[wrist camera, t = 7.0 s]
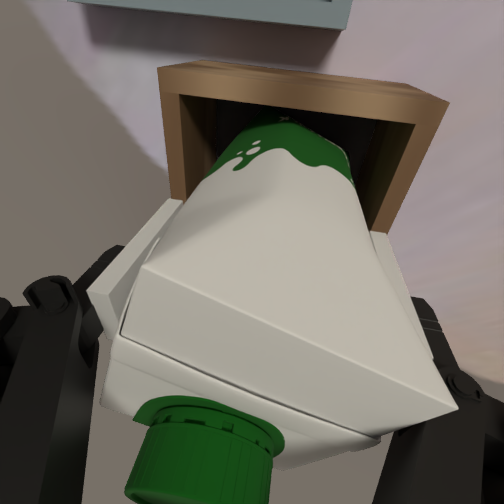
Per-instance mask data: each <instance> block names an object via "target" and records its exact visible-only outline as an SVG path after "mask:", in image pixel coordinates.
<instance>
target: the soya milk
mask: <svg viewBox="0 0 504 504" xmlns="http://www.w3.org/2000/svg"><path fill="white" fill-rule="evenodd" d="M110 356H111V358H110V362H109V365H108V369H107V373H106V378H105V381H104V386H103V390H102V394H101V398H100V405H101V406H102V407H105V408H107V409H110V410H113V411H117V412H120V413H124V414H127V415H131V416H133V417H134V418H133V421H135V422H138V423H141V424H144V425H147V426H150V428H149V429H148V430H147V433H146V436H145V439H144V441H143V444H142V446H141V449H140V451H139V454H138V456H137V459H136V461H135V464H134V467H133V469H132V471H131V474H130V476H129V479H128V481H127V484H126V486H125V491H124V493H125V495H126V496H127V497H128V498H129V499H130V500H132V501H134V502H136V503H137V504H268V503H269V493H270V483H271V472H272V468H276V469H279V470H283V471H284V470H288V469H292V468H295V467H299V466H302V465H305V464H308V463H312V462H315V461H318V460H322V459H324V458H328V457H331V456H335V455H338V454H341V453H344V452H347V451H352V452H353V451H354V452H355V451H360V450H364V449H367V448H370V447H373V446H375V445H377V444H379V443H380V442H381V436H382V435H385V434H388V433H391V432H394V431H397V430H400V429H403V428H406V427H408V426H411V425H414V424H417V423H420V422H423V421H426V420H429V419H432V418H435V417H438V416H441V415H444V414H447V413H449V412H452V411H455V410H458V409H459V408H458V406H457V404H456V403H455V401H454V399H453V397H452V395H451V394H450V392H449V390H448V388H447V386H446V385H445V383H444V381H443V379H442V377H441V375H440V373H439V372H438V370H437V368H436V366H435V364H434V362H433V360H432V359H431V357H430V355H429V353H428V351H427V349H426V348H425V346H424V344H423V342H422V340H421V338H420V336H419V335H418V333H417V331H416V329H415V327H414V325H413V323H412V322H411V320H410V318H409V316H408V314H407V312H406V310H405V308H404V306H403V305H402V303H401V301H400V299H399V297H398V295H397V293H396V291H395V289H394V287H393V285H392V284H391V282H390V280H389V278H388V276H387V274H386V272H385V270H384V268H383V266H382V264H381V262H380V260H379V258H378V256H377V254H376V252H375V250H374V247H373V244H372V241H371V238H370V235H369V231H368V228H367V225H366V222H365V218H364V215H363V212H362V209H361V205H360V202H359V199H358V196H357V192H356V189H355V186H354V182H353V179H352V176H351V172H350V156H349V152H348V151H346V150H344V149H343V148H341V147H339V146H338V145H336V144H334V143H333V142H331V141H329V140H328V139H326V138H324V137H323V136H321V135H319V134H318V133H316V132H314V131H313V130H311V129H309V128H308V127H306V126H304V125H303V124H301V123H299V122H297V121H296V120H294V119H292V118H291V117H289V116H287V115H286V114H284V113H282V112H281V111H279V110H277V109H276V108H274V107H272V106H270V105H265V106H264V107H263V108H262V109H261V110H260V111H259V112H258V113H257V115H256V116H255V117H254V118H253V119H252V120H251V121H250V122H249V123H248V124H247V126H246V127H245V128H244V129H243V130H242V131H241V132H240V133H239V134H238V135H237V137H236V138H235V139H234V140H233V141H232V142H231V144H230V145H229V146H228V147H227V148H226V149H225V151H224V152H223V153H222V154H221V156H220V157H219V158H218V160H217V161H216V162H215V164H214V165H213V166H212V168H211V169H210V170H209V172H208V173H207V174H206V176H205V177H204V178H203V180H202V181H201V182H200V184H199V185H198V186H197V188H196V189H195V190H194V192H193V193H192V194H191V196H190V197H189V198H188V200H187V201H186V202H185V204H184V205H183V206H182V208H181V209H180V211H179V212H178V214H177V215H176V217H175V218H174V220H173V221H172V223H171V224H170V226H169V228H168V229H167V231H166V233H165V234H164V236H163V237H162V239H161V240H160V238H158V239H157V240H156V242H155V243H154V245H153V246H152V248H151V250H150V252H149V253H148V255H147V257H146V259H145V261H144V263H143V265H141V267H140V270H139V273H138V275H137V277H136V279H135V282H134V284H133V286H132V289H131V291H130V293H129V295H128V298H127V300H126V303H125V306H124V308H123V311H122V314H121V316H120V319H119V322H118V326H117V329H116V332H115V336H114V339H113V343H112V346H111V351H110Z"/></svg>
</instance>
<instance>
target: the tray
mask: <svg viewBox="0 0 504 504" xmlns="http://www.w3.org/2000/svg"><path fill="white" fill-rule="evenodd" d="M67 1H70V2H76V3H82V4H88V5H94V6H103V7H113V8H123V9H133V10H142V11H152V12H162V13H172V14H181V15H191V16H201V17H210V18H220V19H230V20H240V21H249V22H259V23H269V24H279V25H288V26H298V27H308V28H318V29H327V30H337V31H343V30H346V26H347V22H348V18H349V13H350V9H351V5H352V0H67Z"/></svg>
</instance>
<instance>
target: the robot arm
mask: <svg viewBox="0 0 504 504" xmlns="http://www.w3.org/2000/svg"><path fill="white" fill-rule="evenodd" d="M182 206H183V201H182V200H175V199H168V200H167V201H166V202H165V203H164V204H163V205H162V206H161V208H160V209H159V210H158V211H157V212H156V213H155V214H154V215H153V217H152V218H151V219H150V220H149V221H148V222H147V223H146V224H145V226H144V227H143V228H142V229H141V230H140V231H139V232H138V233H137V235H135V237H134V238H133V239H132V240H131V241H130V242H129V243H128V245H126V246H120V245H116V246H114V247H112V248H110V249H109V250H107V251H105V252H104V253H103V254H102V255H101V256H100V258H99V259H98V261H96V262H95V263H94V264H93V265H92V266H91V268H89V269H88V270H87V271H86V272H85V273H84V274H83V275H82V276H81V277H80V278H79V279H78V280H77V281H76V282H75V283H74V284H73V285H72V283H71V281H70V280H69V279H68V278H67V277H64V276H59V275H58V276H48V277H44V278H41V279H39V280H37V281H35V282H33V283H32V284H30V285H29V286H28V287H27V288H26V289H25V290H24V292H23V295H24V297H25V298H26V300H27V301H28V303H29V304H30V306H17V307H12V305H11V303H10V302H9V301H8V300H7V299H5V298H1V297H0V504H81V502H82V494H83V485H84V476H85V468H86V458H87V450H88V441H89V432H90V423H91V415H92V406H93V397H94V388H95V379H96V370H97V362H98V353H99V341H98V337H99V336H100V334H101V333H102V332H103V331H104V333H105V335H106V338H107V339H109V340H113V339H114V336H115V332H116V329H117V326H118V322H119V319H120V316H121V314H122V311H123V308H124V306H125V303H126V300H127V298H128V295H129V293H130V291H131V289H132V286H133V284H134V282H135V279H136V277H137V275H138V273H139V270H140V267H141V265H143V263H144V261H145V259H146V257H147V255H148V253H149V252H150V250H151V248H152V246H153V245H154V243H155V242H156V240H157V239H158V238H160V240H161V239H162V237H163V236H164V234H165V233H166V231H167V229H168V228H169V226H170V224H171V223H172V221H173V220H174V218H175V217H176V215H177V214H178V212H179V211H180V209H181V208H182ZM369 235H370V238H371V241H372V244H373V247H374V250H375V252H376V254H377V256H378V258H379V260H380V262H381V264H382V266H383V268H384V270H385V272H386V274H387V276H388V278H389V280H390V282H391V284H392V285H393V287H394V289H395V291H396V293H397V295H398V297H399V299H400V301H401V303H402V305H403V306H404V308H405V310H406V312H407V314H408V316H409V318H410V320H411V322H412V323H413V325H414V327H415V329H416V331H417V333H418V335H419V336H420V338H421V340H422V342H423V344H424V346H425V348H426V349H427V351H428V353H429V355H430V357H431V359H432V360H433V362H434V364H435V366H436V368H437V370H438V372H439V373H440V375H441V377H442V379H443V381H444V383H445V385H446V386H447V388H448V390H449V392H450V394H451V395H452V397H453V399H454V401H455V403H456V404H457V406H458V408H459V409H458V410H455V411H452V412H449V413H447V414H444V415H441V416H438V417H435V418H432V419H429V420H426V421H423V422H420V423H417V424H414V425H411V426H408V427H406V428H403V429H400V430H397V431H394V433H393V436H392V440H391V443H390V446H389V450H388V453H387V456H386V460H385V463H384V466H383V469H382V473H381V476H380V479H379V483H378V486H377V489H376V492H375V495H374V499H373V502H372V504H504V403H503V402H501V401H499V400H497V399H494V398H492V397H490V396H488V395H486V394H485V393H484V392H483V390H482V389H481V387H480V385H479V384H478V383H477V382H476V381H475V380H474V379H473V378H472V377H470V376H469V375H468V374H466V373H465V372H463V371H461V370H460V368H459V366H458V364H457V362H456V360H455V357H454V355H453V353H452V351H451V349H450V346H449V344H448V342H447V340H446V337H445V335H444V333H442V328H441V326H440V324H439V323H438V320H437V317H436V315H435V313H434V311H433V309H432V308H431V307H430V306H429V305H428V303H427V302H426V301H425V300H424V299H422V298H417V297H411V296H410V295H409V292H408V289H407V287H406V284H405V282H404V279H403V276H402V274H401V271H400V269H399V266H398V263H397V261H396V258H395V255H394V253H393V250H392V248H391V245H390V242H389V240H388V237H387V234H386V233H381V232H375V231H370V232H369Z"/></svg>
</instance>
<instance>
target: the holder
mask: <svg viewBox="0 0 504 504" xmlns="http://www.w3.org/2000/svg"><path fill="white" fill-rule="evenodd" d="M157 72H158V81H159V90H160V99H161V108H162V118H163V127H164V136H165V145H166V154H167V163H168V172H169V181H170V189H171V199H175V200H182V201H183V205H184V204H185V202H186V201H187V200H188V198H189V197H190V196H191V194H192V193H193V192H194V190H195V189H196V188H197V186H198V185H199V184H200V182H201V181H202V180H203V178H204V177H205V176H206V174H207V173H208V172H209V170H210V169H211V168H212V166H213V165H214V164H215V162H216V146H217V99H223V100H231V101H239V102H247V103H255V104H262V105H270V106H278V107H286V108H294V109H302V110H309V111H317V112H325V113H333V114H341V115H349V116H356V117H364V118H372V119H378V120H377V123H376V126H375V129H374V132H373V135H372V138H371V141H370V144H369V146H368V149H367V152H366V155H365V158H364V161H363V164H362V167H361V170H360V173H359V176H358V179H357V182H356V185H355V189H356V192H357V196H358V199H359V202H360V205H361V209H362V212H363V215H364V218H365V222H366V225H367V228H368V231H369V232H370V231H375V232H381V233H386V234H388V232H389V230H390V228H391V225H392V223H393V221H394V219H395V217H396V215H397V213H398V211H399V209H400V207H401V204H402V202H403V200H404V198H405V196H406V194H407V192H408V190H409V188H410V186H411V183H412V181H413V179H414V177H415V175H416V173H417V171H418V169H419V167H420V165H421V162H422V160H423V158H424V156H425V154H426V152H427V150H428V148H429V146H430V144H431V141H432V139H433V137H434V135H435V133H436V131H437V129H438V127H439V125H440V122H441V120H442V118H443V116H444V114H445V112H446V110H447V108H448V106H449V104H450V103H449V102H447V101H445V100H442V99H440V98H438V97H436V96H433V95H431V94H429V93H426V92H424V91H422V90H420V89H417V88H415V87H413V86H410V85H408V84H404V83H396V82H387V81H378V80H370V79H361V78H353V77H344V76H335V75H327V74H318V73H310V72H301V71H292V70H284V69H275V68H267V67H258V66H249V65H241V64H232V63H224V62H215V61H206V60H200V61H194V62H188V63H181V64H175V65H169V66H163V67H157Z"/></svg>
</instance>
